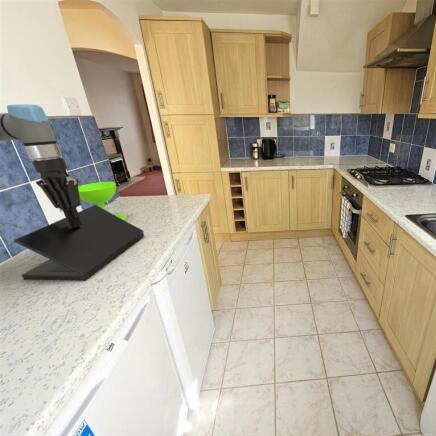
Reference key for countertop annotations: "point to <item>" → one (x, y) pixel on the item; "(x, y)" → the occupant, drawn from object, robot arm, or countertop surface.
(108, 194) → the wineglass
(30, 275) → the laptop
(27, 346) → the countertop surface
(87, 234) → the laptop screen
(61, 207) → the robot arm
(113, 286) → the countertop surface
